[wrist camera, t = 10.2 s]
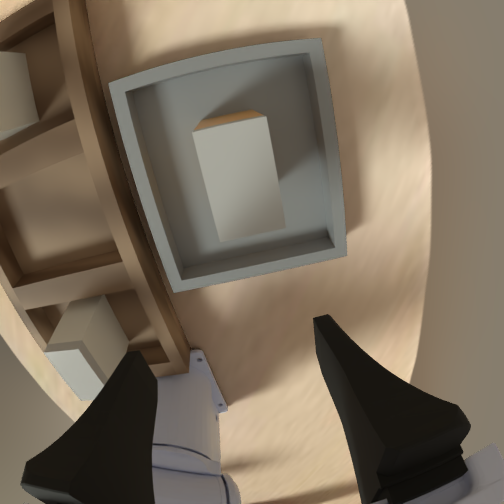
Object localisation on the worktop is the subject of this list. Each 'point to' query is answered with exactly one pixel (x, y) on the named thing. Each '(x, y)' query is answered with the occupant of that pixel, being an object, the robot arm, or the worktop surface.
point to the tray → (189, 171)
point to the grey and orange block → (239, 174)
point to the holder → (75, 197)
